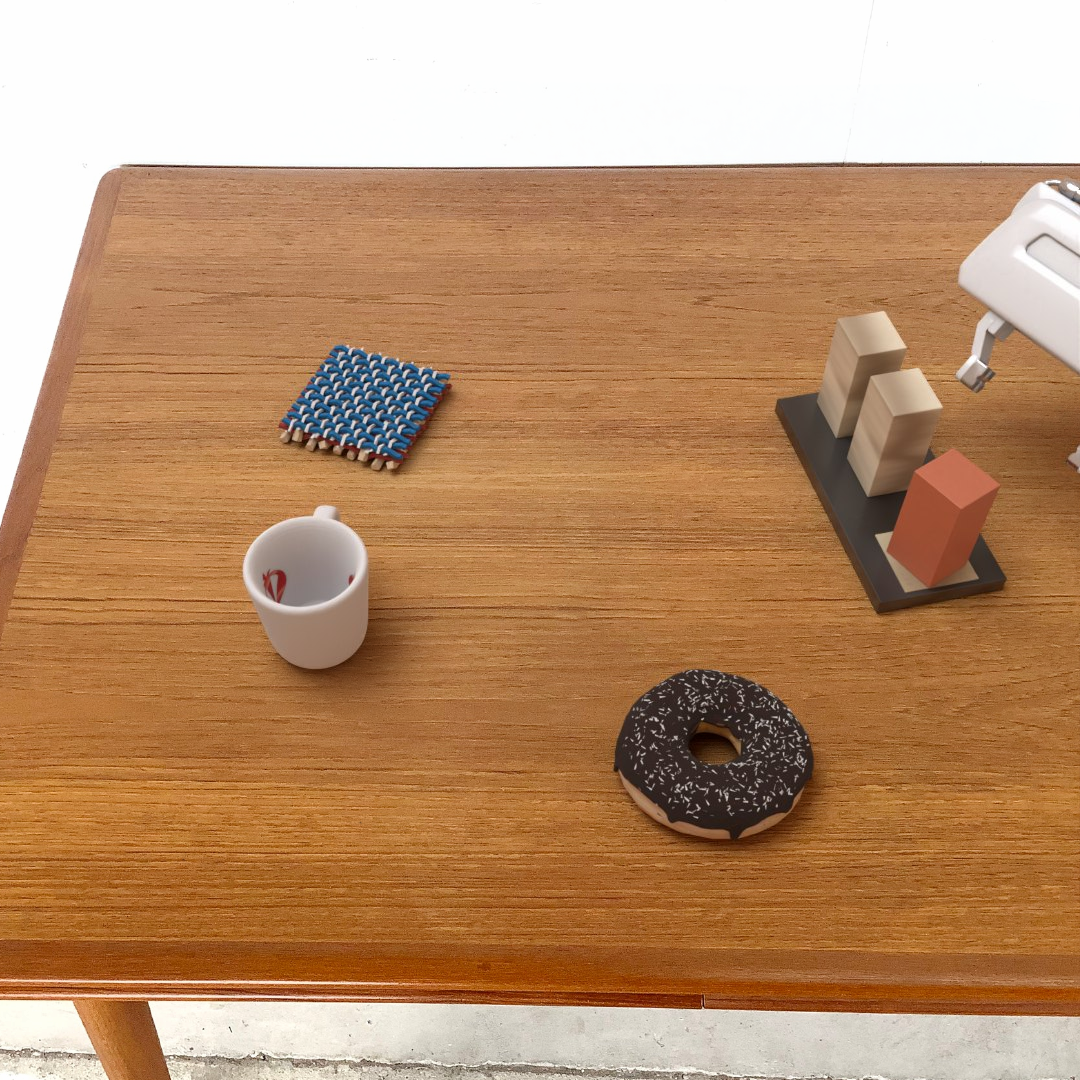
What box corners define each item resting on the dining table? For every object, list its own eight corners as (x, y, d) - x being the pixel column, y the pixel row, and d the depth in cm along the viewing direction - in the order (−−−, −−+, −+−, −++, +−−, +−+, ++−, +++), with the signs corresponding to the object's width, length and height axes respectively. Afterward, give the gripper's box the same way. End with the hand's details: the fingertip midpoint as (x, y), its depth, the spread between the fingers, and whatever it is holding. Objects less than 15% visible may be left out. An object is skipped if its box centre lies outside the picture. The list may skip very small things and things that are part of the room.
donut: (638, 675, 86) (643, 640, 82) (820, 719, 83) (832, 684, 80) (597, 819, 79) (600, 787, 76) (792, 871, 77) (804, 840, 74)
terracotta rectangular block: (922, 528, 90) (953, 447, 84) (966, 565, 88) (1001, 484, 82) (885, 551, 89) (914, 470, 83) (928, 588, 87) (961, 509, 81)
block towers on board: (886, 390, 100) (915, 295, 93) (1002, 589, 89) (1046, 498, 81) (774, 410, 100) (794, 315, 92) (876, 613, 88) (909, 524, 80)
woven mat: (335, 354, 105) (332, 335, 104) (456, 388, 102) (455, 368, 101) (274, 441, 100) (270, 422, 98) (399, 479, 97) (397, 460, 95)
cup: (284, 554, 93) (267, 477, 87) (394, 564, 92) (385, 486, 86) (249, 679, 87) (228, 606, 80) (367, 690, 86) (355, 617, 79)
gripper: (1038, 146, 83) (887, 326, 88) (1323, 324, 72) (1133, 516, 77) (1063, 182, 88) (919, 350, 93) (1333, 353, 77) (1154, 532, 82)
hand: (1019, 427), depth 85 cm, fingers open, 8 cm apart
